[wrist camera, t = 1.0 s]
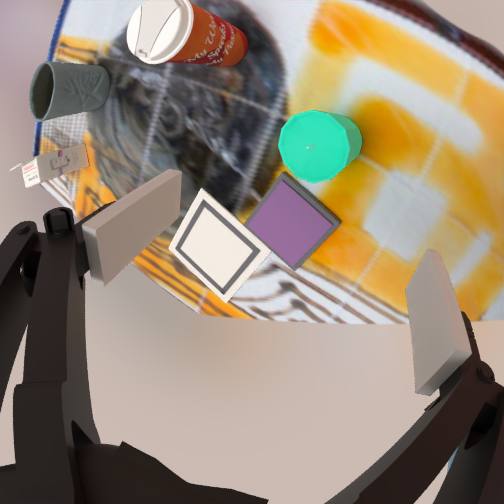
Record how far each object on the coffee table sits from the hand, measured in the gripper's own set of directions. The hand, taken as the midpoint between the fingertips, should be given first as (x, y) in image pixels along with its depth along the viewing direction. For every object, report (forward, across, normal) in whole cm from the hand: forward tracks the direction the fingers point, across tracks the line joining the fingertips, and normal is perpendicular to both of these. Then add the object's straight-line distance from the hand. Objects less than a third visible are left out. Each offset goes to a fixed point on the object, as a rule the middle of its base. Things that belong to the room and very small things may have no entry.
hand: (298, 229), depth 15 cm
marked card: (+22, +12, +19) cm, 31 cm away
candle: (+21, -1, -1) cm, 21 cm away
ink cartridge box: (+28, +46, +13) cm, 56 cm away
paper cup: (+25, +15, -9) cm, 30 cm away
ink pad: (+21, +2, +11) cm, 23 cm away
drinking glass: (+29, +41, -2) cm, 50 cm away
